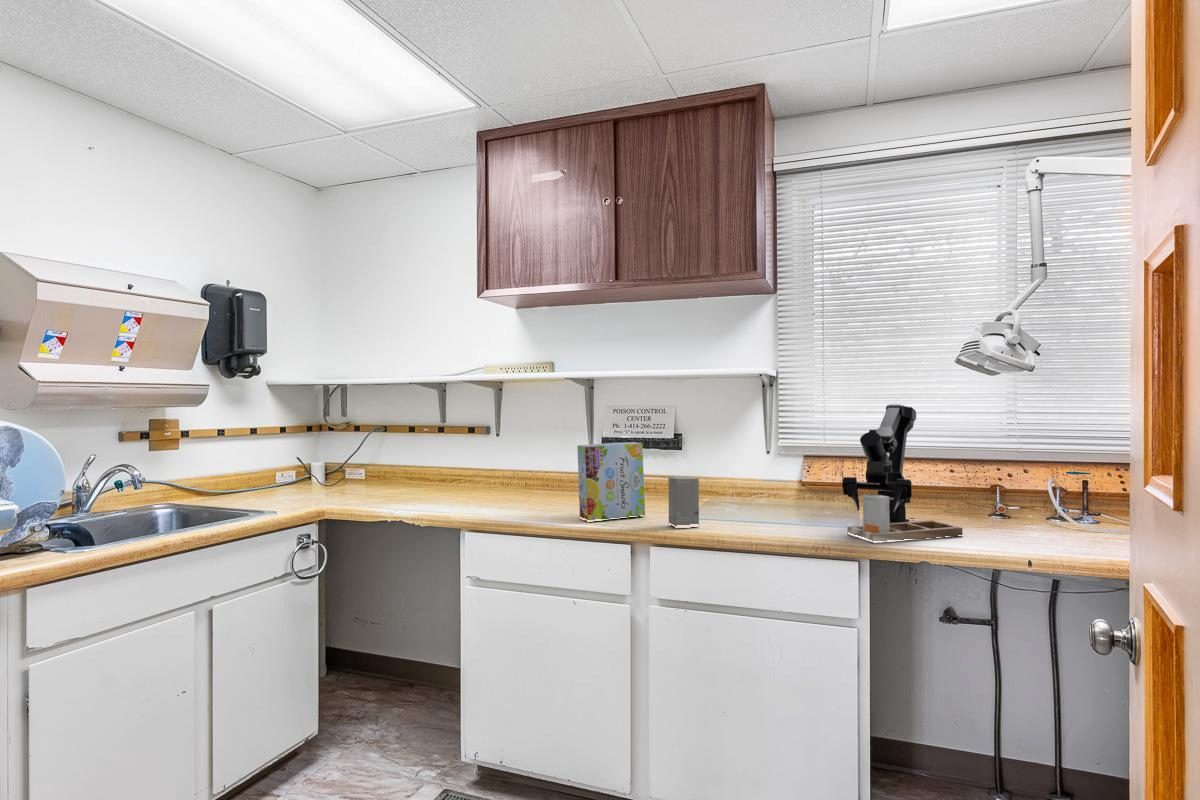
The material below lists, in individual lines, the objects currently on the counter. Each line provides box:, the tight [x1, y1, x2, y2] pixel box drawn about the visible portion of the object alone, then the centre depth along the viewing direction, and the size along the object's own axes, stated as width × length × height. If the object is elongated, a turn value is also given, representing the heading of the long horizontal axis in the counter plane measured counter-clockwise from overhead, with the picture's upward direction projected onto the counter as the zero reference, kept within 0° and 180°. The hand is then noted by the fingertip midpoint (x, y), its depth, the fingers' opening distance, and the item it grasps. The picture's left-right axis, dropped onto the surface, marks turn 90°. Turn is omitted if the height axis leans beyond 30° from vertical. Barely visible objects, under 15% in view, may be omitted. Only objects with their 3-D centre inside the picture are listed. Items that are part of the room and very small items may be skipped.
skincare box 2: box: [862, 493, 891, 533], centre depth 191 cm, size 6×4×12 cm
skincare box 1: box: [667, 476, 700, 526], centre depth 211 cm, size 8×7×16 cm
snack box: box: [576, 441, 646, 520], centre depth 227 cm, size 22×9×26 cm, turn 113°
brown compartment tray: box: [846, 519, 964, 541], centre depth 193 cm, size 12×30×2 cm, turn 104°
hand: (875, 510), depth 190 cm, fingers open, 9 cm apart
